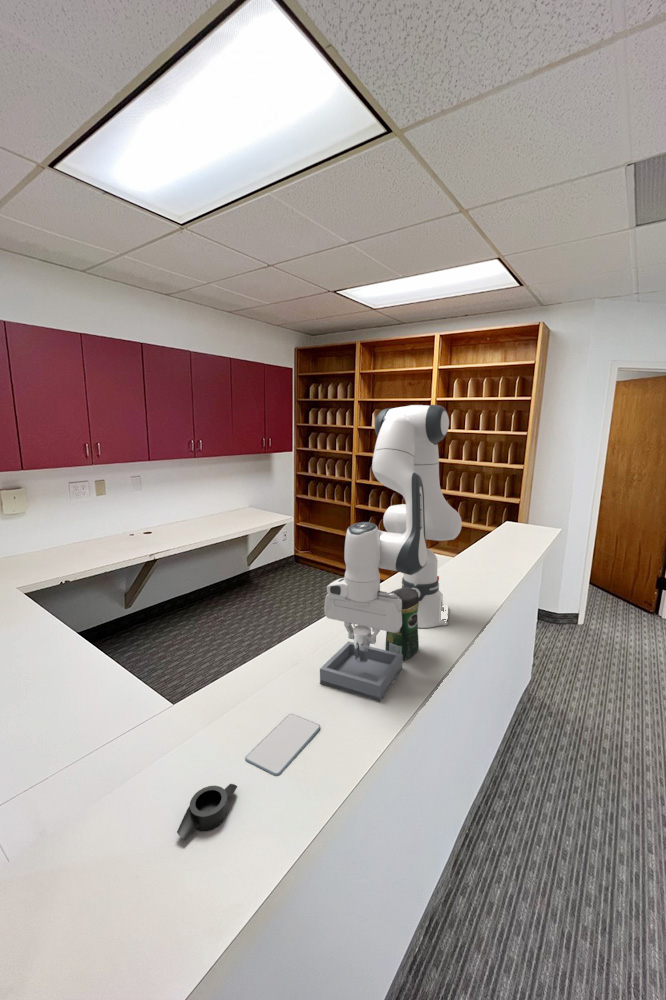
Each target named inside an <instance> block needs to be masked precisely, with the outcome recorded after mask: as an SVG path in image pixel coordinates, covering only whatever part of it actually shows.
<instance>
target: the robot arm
mask: <svg viewBox="0 0 666 1000" xmlns="http://www.w3.org/2000/svg"><path fill="white" fill-rule="evenodd" d="M449 427H450V419H449V415H448V411H447V410H446V408H445V407H444V406H442V405H438V404H430V405H426V404H425V405H423V404H410V405H406V406H399V407H394V408H393V407H388V408H384V409H382V410H380V411H379V412H378V414H377V415H376V417H375V421H374V431H375V432H374V433H375V434H376V436H377V437H376V442H375V445H374V450H373V455H372V462H371V463H372V464H371V468H372V472H373V475H374V477H375V479H376V480H377V481H378V482H379V483H380V484H381V485H383V486H384V487H386V488H388V489H391V490H392V491H395V492H397V493H398V494H400V495H402V497H403V498H404V501H405V504H404V503H401V504H393V505H390V506H389V507H388V508H386V510H385V512H384V514H383V517H382V518H383V519H382V521H383V522H382V523H383V527H384V529H385V531H383V530H380V529H379V528H378V526H377V524H375V523H373V522H371V521H370V522H368V521H361V522H356V523H353V524H351V525H350V526H348V528H347V529H346V535H345V540H344V563H345V571H344V577H341V578H338V579H335V580H333V581H332V582H330V583H329V584H328V585H327V586H326V593H327V594H326V595H325V598H324V607H323V608H324V616H325V617H326V619H330V620H335V621H339V622H343V623H344V628H345V630H346V631H347V633H348V639H350V640H354V634H353V628H354V626H352V625H353V624H355V625H356V626H357V625H361V626H366V627H370V628H371V632H373V634H372V633H371V635H370V636H369V637H368V640H369V641H368V643H370V645H375V644H376V643H377V636H378V634H379V632H380V631H385V632H387V631H388V632H393V633H396V632H397V631H398V630H399V629H400V628H401V626H402V614H401V610H402V600H401V599H400V597H398V596H397V595H396V594H394V593H390V592H387V591H383V590H381V574H380V571H379V570H380V569H384V570H390V571H395V572H398V573H400V574H403V577H401V578H402V579H401V588H403V587H408V588H411V589H415V590H416V591H417V593H418V597H419V606H418V615H417V618H418V629H419V628H423V629H426V628H427V629H428V628H433V627H438V626H448V624H449V621H448V622H447V621H444V620H446V619H442V620H441V611H443V612H444V607H442V606H443V605H444V604H445V603H444V602H443V601H444V600H443V599H444V597H443V592H441V591H440V583H439V581H440V576H439V575H438V564H439V563H438V557H437V555H436V554H435V552H433V551H432V550H431V549H429V548H428V547H427V540H429V541H430V540H431V541H438V542H440V541H441V542H442V541H451V540H453V541H454V540H455V539H456V538H457V537H458V536H459V535H460V533H461V530H462V527H463V522H462V521H463V520H462V517H461V516H460V513H459V512H458V511H457V510H456V509H455V508H453V507H452V506H451V505H450V504H449V502H448V501H447V500H446V499H445V497H444V494H443V492H442V489H441V485H440V483H441V482H440V455H439V445H438V444H439V442H441V441H443V440H444V438H445V437H446V436H447V434H448V431H449ZM396 597H397V598H396ZM445 611H446V610H445ZM449 611H450V609H449V610H448V616H449V613H450V612H449ZM445 622H446V623H445Z"/></svg>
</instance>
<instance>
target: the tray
mask: <svg viewBox="0 0 666 1000" xmlns="http://www.w3.org/2000/svg"><path fill="white" fill-rule="evenodd" d="M403 661H404V660H403V654H399V653H395V652H390V651H386V650H385V649H381V648H377V647H374V646H370V647H369V659H368V661H367V662H365V663H359V662H357V661H356V659H355V646H354V641H353V642H352V641H347V642H346V643H345V644H344V645H343V646H342V647H341V648H339V650H337V652H336V653H334V654H333V655H332V656H331V657H330V658H329V659H328V660H327V661H326V662H325V663H324V664H323V665H322V666H321V667H320V668H319V684H320V685H323V686H326V687H330V688H333V689H336V690H339V691H342V692H346V693H349V694H352V695H355V696H359V697H363V698H366V699H369V700H372V701H375V702H378V703H380V702H381V701H382V699H383V698H384V696H386V694H387V692H388V691H389V689H390V688H391V687H392V685H393V684H394V682H395V680H396V679H397V677H398V676H399V675H400V673H401V671H402V670H403Z"/></svg>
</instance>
